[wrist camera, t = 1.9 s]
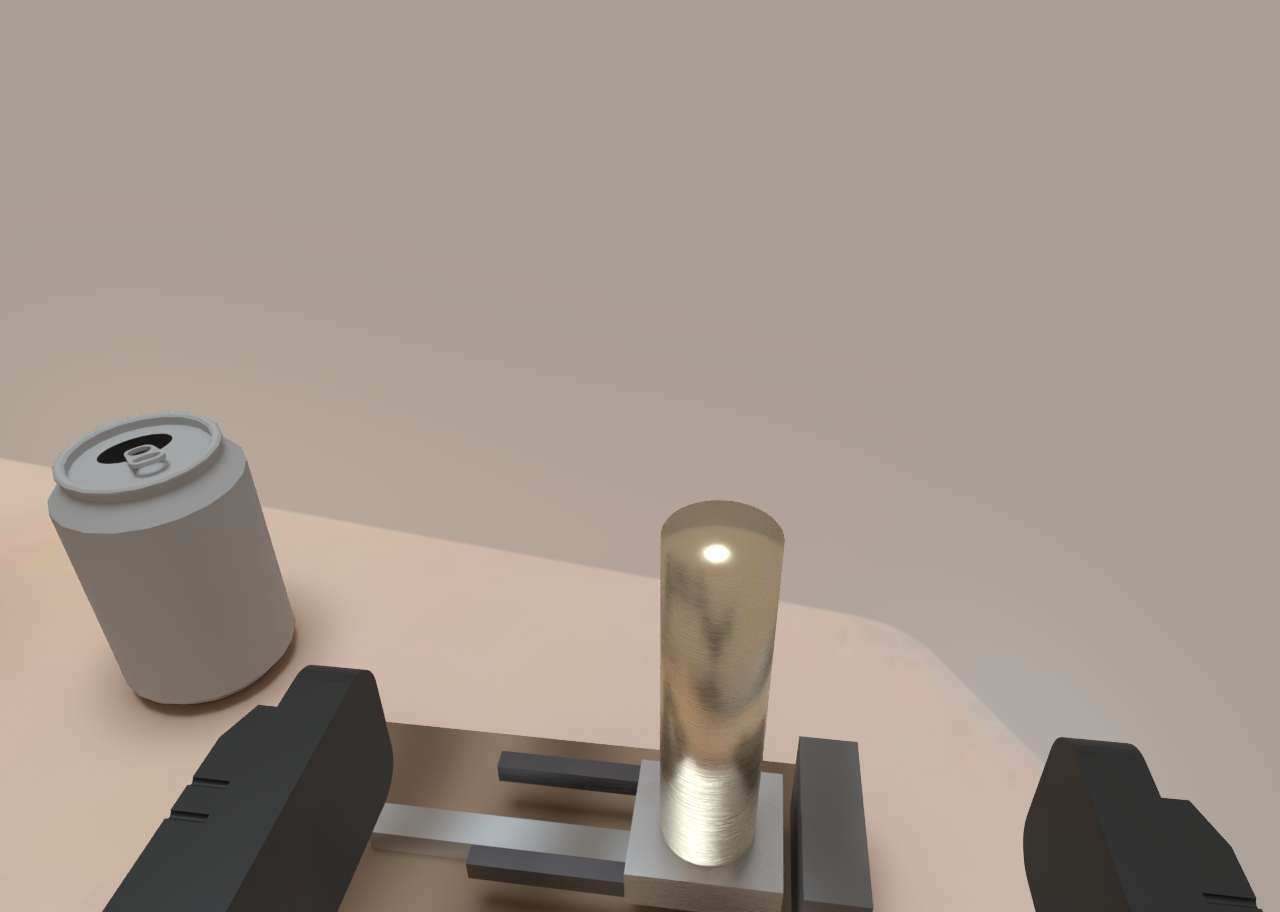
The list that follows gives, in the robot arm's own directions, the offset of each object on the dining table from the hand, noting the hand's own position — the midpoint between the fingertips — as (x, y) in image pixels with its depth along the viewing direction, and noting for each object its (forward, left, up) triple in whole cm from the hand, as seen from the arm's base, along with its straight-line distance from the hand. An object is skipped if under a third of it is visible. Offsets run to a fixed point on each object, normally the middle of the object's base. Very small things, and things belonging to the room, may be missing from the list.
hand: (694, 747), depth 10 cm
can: (-24, +20, -22) cm, 38 cm away
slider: (-3, +11, -19) cm, 22 cm away
